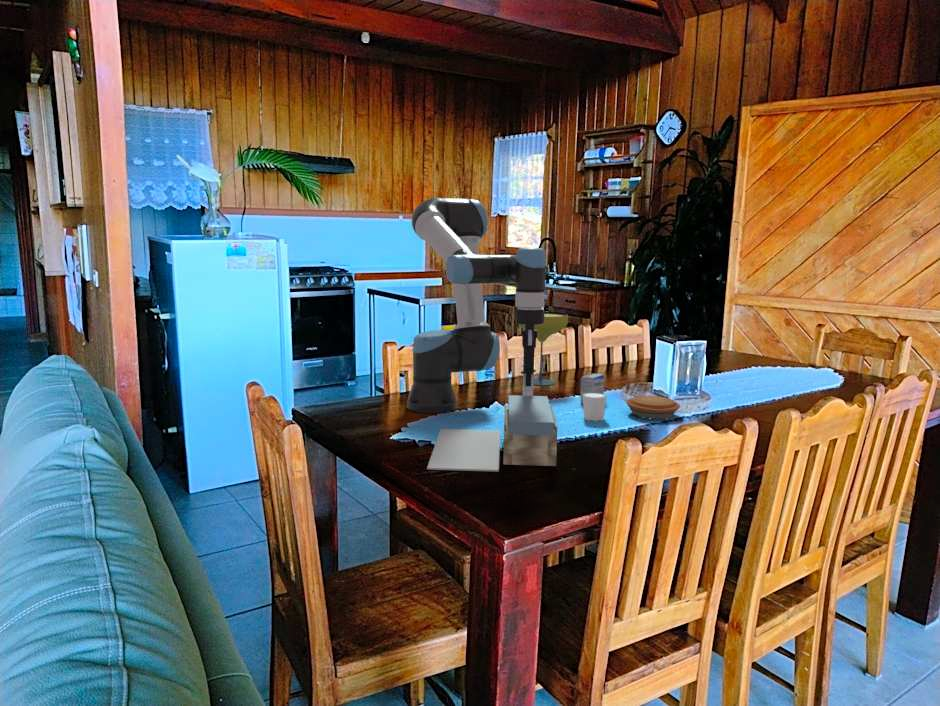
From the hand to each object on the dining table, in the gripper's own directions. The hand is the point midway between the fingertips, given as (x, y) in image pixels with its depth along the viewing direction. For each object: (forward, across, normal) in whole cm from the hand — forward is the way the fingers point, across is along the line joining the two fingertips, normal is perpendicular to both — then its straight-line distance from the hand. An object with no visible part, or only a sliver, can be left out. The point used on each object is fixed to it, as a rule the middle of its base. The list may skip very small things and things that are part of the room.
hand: (527, 397), depth 181 cm
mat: (+10, -15, +15) cm, 24 cm away
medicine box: (+10, +39, -22) cm, 46 cm away
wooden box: (+10, -16, 0) cm, 19 cm away
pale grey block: (+2, -16, 0) cm, 16 cm away
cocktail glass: (+10, +67, -7) cm, 68 cm away
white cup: (+10, +18, -20) cm, 29 cm away
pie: (+10, +24, -38) cm, 46 cm away
